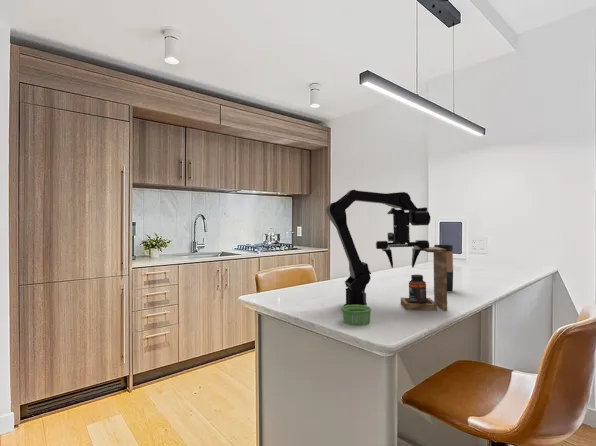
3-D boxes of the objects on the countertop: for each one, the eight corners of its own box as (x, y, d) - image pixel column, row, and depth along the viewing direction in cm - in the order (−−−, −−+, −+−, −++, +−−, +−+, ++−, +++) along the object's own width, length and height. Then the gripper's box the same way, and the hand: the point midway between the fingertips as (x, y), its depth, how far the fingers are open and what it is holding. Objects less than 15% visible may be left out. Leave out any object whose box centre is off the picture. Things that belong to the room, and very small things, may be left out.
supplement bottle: (429, 306, 126) (428, 274, 126) (423, 309, 121) (422, 276, 121) (412, 303, 130) (412, 273, 130) (406, 306, 125) (406, 275, 125)
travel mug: (453, 289, 156) (452, 244, 156) (453, 292, 149) (452, 245, 149) (435, 288, 159) (434, 244, 159) (434, 291, 152) (433, 245, 152)
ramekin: (377, 322, 107) (377, 308, 107) (356, 328, 101) (356, 313, 101) (356, 316, 114) (356, 303, 114) (336, 321, 109) (335, 307, 109)
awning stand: (405, 309, 121) (405, 249, 121) (400, 302, 132) (399, 247, 132) (447, 310, 119) (446, 249, 119) (438, 303, 130) (437, 247, 130)
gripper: (422, 225, 137) (423, 264, 137) (374, 226, 140) (375, 265, 140) (429, 225, 126) (430, 268, 126) (376, 226, 129) (377, 268, 129)
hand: (402, 267), depth 130 cm, fingers open, 7 cm apart
